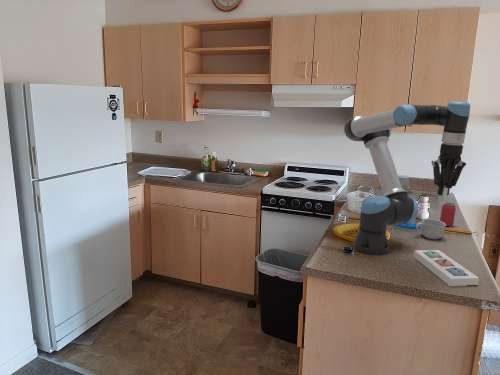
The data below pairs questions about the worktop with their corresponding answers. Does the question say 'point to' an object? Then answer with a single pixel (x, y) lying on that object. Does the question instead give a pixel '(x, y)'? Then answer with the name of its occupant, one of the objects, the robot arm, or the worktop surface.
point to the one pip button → (433, 254)
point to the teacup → (431, 228)
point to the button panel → (446, 269)
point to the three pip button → (444, 262)
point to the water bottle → (404, 182)
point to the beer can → (448, 214)
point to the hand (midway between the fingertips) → (441, 203)
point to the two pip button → (456, 271)
